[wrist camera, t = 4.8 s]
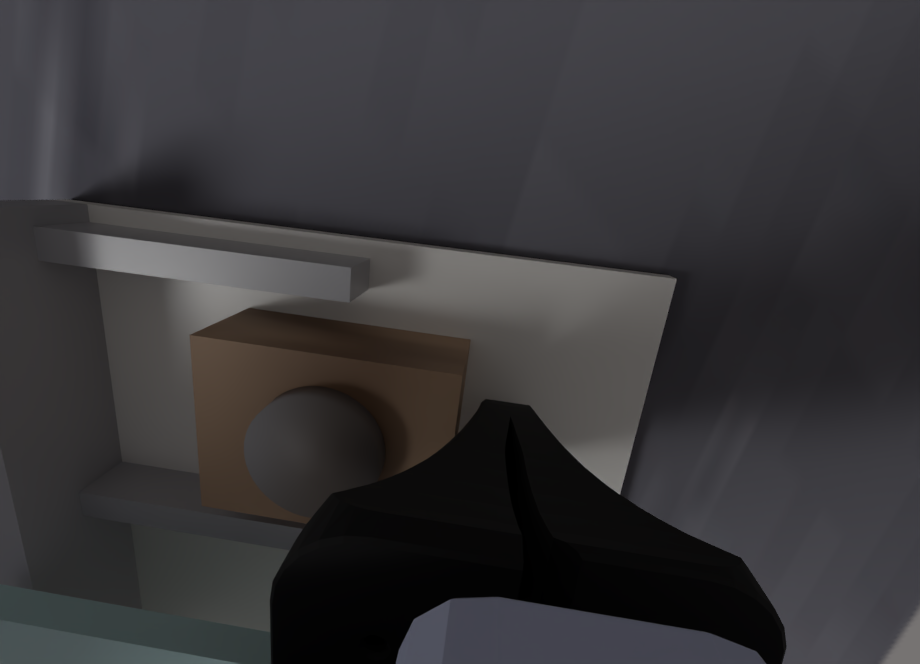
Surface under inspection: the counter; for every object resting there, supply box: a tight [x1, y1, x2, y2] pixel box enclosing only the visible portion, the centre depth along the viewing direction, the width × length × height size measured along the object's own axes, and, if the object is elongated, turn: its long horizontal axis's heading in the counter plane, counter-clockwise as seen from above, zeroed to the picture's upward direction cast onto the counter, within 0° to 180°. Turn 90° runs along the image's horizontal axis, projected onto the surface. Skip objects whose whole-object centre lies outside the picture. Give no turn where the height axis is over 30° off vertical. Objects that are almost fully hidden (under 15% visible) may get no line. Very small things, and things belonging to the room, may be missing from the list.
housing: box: [0, 199, 677, 632], centre depth 13 cm, size 16×16×4 cm
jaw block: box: [190, 308, 471, 524], centre depth 11 cm, size 6×4×3 cm
